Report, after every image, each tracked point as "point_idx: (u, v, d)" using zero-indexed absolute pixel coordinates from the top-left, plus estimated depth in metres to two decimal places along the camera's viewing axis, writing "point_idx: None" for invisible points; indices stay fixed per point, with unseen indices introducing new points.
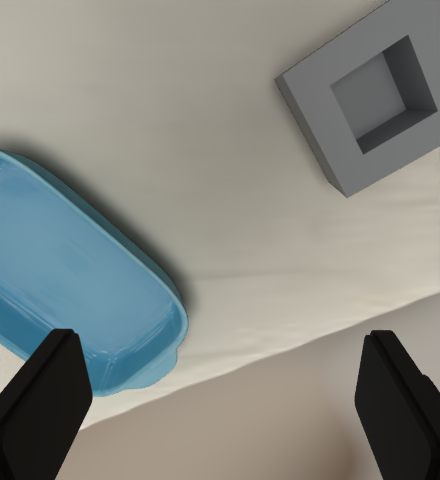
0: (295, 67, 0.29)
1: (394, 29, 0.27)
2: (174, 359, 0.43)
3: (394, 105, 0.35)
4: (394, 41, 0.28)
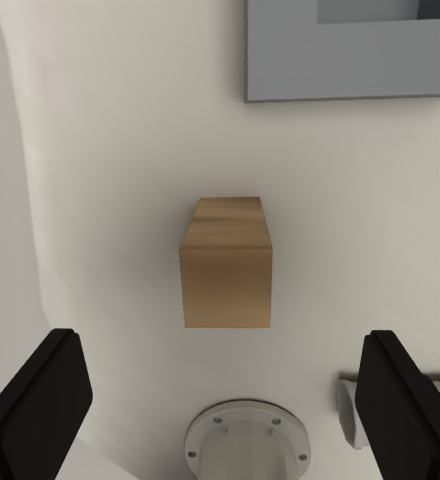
0: None
1: (332, 46, 0.15)
2: None
3: None
4: (341, 26, 0.15)
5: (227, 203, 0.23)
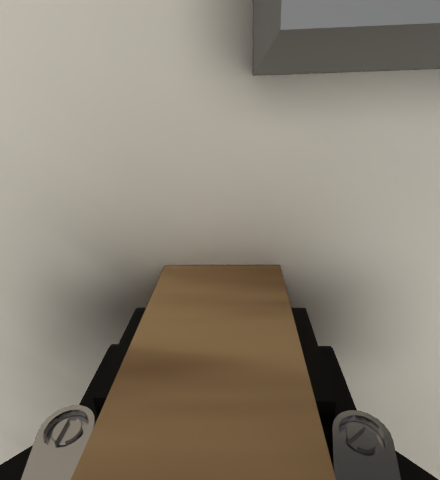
0: None
1: None
2: None
3: None
4: None
5: (216, 289, 0.11)
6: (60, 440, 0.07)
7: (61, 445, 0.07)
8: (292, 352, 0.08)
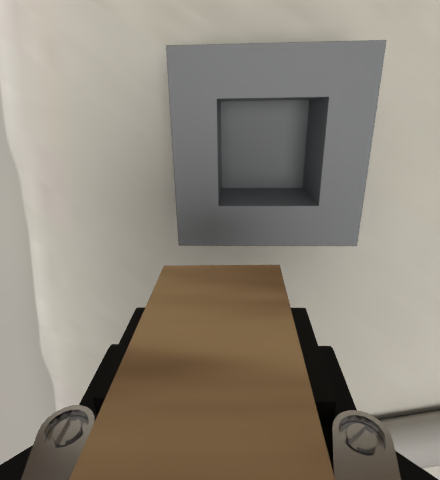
0: (340, 244, 0.24)
1: (229, 218, 0.24)
2: None
3: (231, 114, 0.27)
4: (234, 207, 0.24)
5: (215, 289, 0.11)
6: (60, 440, 0.07)
7: (61, 445, 0.07)
8: (291, 352, 0.08)
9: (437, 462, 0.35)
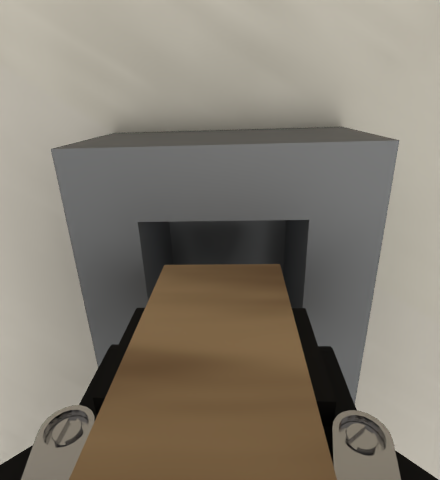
0: None
1: None
2: None
3: None
4: None
5: (216, 288, 0.11)
6: (60, 440, 0.07)
7: (61, 445, 0.07)
8: (292, 351, 0.08)
9: None
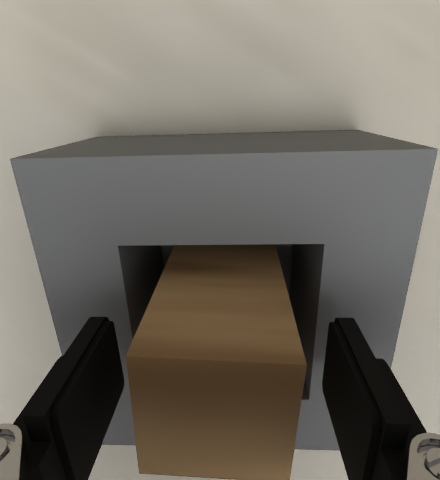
0: None
1: None
2: None
3: None
4: None
5: None
6: None
7: None
8: (274, 265, 0.13)
9: None
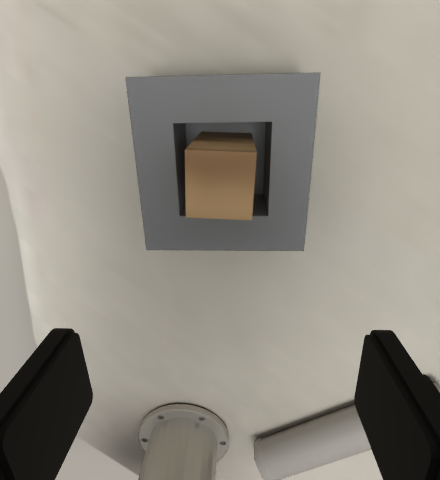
0: (289, 249, 0.27)
1: (190, 226, 0.27)
2: None
3: (195, 129, 0.29)
4: None
5: (224, 134, 0.28)
6: None
7: None
8: (250, 140, 0.25)
9: None
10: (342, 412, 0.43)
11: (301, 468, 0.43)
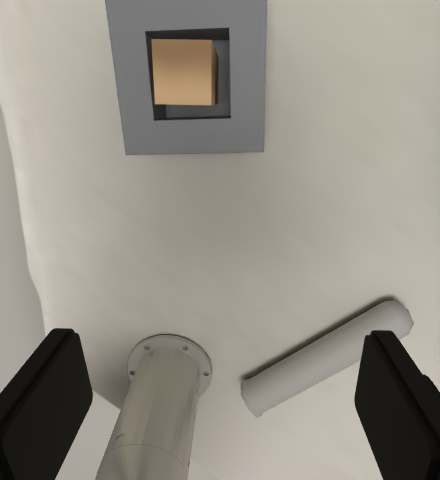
0: (250, 150, 0.31)
1: (163, 130, 0.31)
2: None
3: None
4: (166, 121, 0.30)
5: None
6: None
7: None
8: None
9: (359, 356, 0.43)
10: (316, 341, 0.46)
11: (284, 397, 0.46)
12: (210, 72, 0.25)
